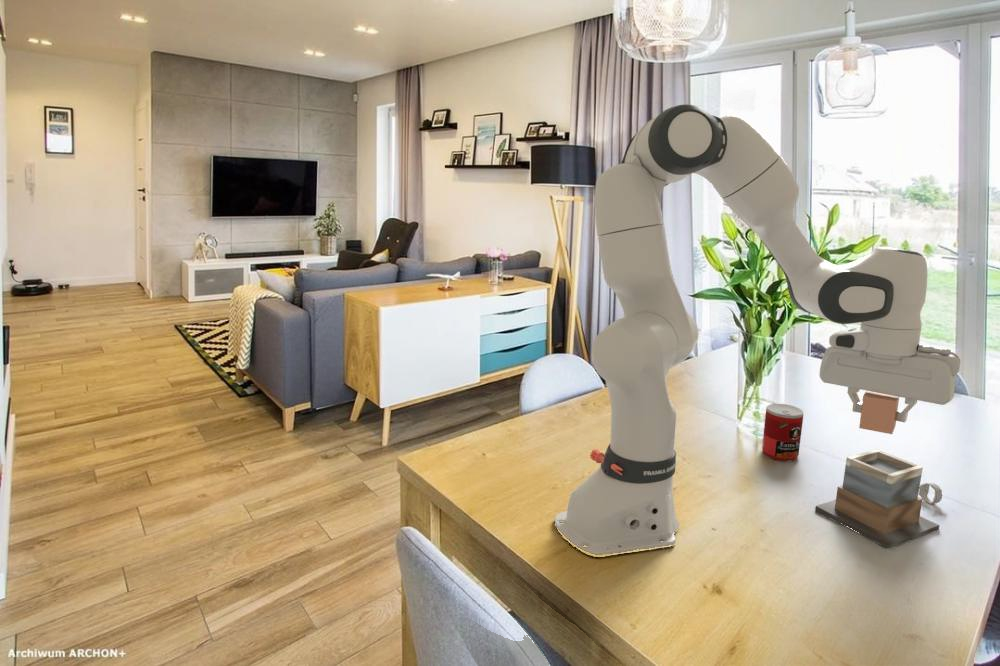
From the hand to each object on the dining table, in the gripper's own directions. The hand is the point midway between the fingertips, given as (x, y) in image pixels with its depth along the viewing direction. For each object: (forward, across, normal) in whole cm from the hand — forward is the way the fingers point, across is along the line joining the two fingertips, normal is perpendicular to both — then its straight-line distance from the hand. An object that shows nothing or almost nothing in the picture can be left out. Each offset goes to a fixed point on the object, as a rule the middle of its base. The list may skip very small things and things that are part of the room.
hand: (878, 416), depth 108 cm
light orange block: (+2, 0, 0) cm, 2 cm away
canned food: (+20, +22, -16) cm, 34 cm away
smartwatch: (+20, -7, -15) cm, 26 cm away
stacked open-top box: (+20, -2, 0) cm, 20 cm away
